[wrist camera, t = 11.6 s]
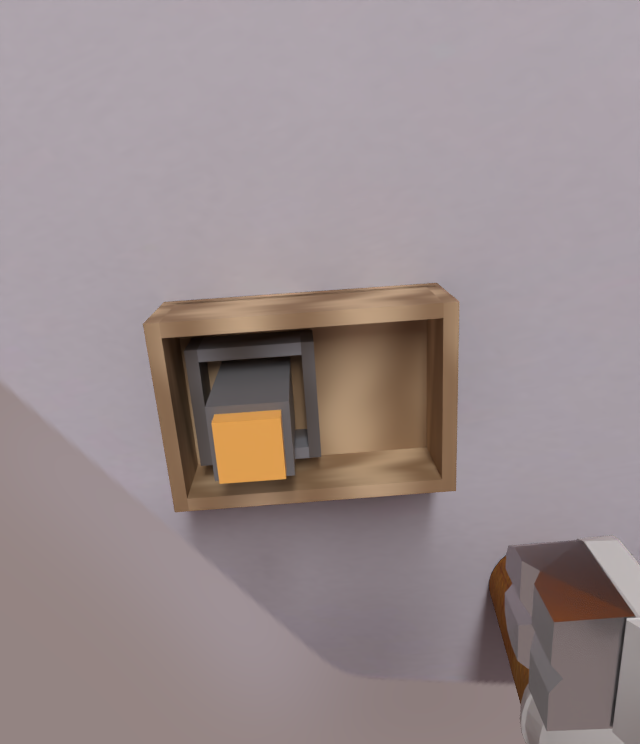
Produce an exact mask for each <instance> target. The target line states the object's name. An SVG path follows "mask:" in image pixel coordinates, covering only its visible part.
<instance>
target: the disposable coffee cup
mask: <svg viewBox="0 0 640 744" xmlns="http://www.w3.org/2000/svg"><path fill="white" fill-rule="evenodd" d="M511 585H512V582H511V579H510V577H509V575H508V573H507V571H506V556H505V557H504V558H503V559H501V560H500V562H499V563H498V564H497V566H496V567H495V568H494V570H493V572H492V574H491V577H490V582H489V590H490V595H491V598H492V601H493V605H494V608H495V612H496V616H497V619H498V623H499V627H500V630H501V634H502V638H503V641H504V645H505V649H506V653H507V656H508V659H509V663H510V667H511V671H512V675H513V678H514V681H515V685H516V689H517V693H518V696H519V700H520V703H521V716H520V722H521V731H522V735H523V738H524V740H525V743H526V744H625V743H624V742H623V741H622V740H621V739H619V738H618V737H617V736H616V735H615V734H614V733H613V732H612V730H613V729H591V730H567V731H546V729H545V726H544V724H543V721H542V719H541V717H540V714H539V712H538V709H537V707H536V705H535V702H534V700H533V697H532V695H531V693H530V690H529V688H528V687H529V669H528V668H526V667H525V666H524V665H522V664H521V663H520V662H518V661H517V658H516V656H515V653H514V651H513V648H512V645H511V642H510V638H509V635H508V631H507V624H506V617H505V592H506V591H507V590H508V589H509V587H510V586H511Z"/></svg>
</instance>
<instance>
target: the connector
mask: <svg viewBox="0 0 640 744" xmlns="http://www.w3.org/2000/svg"><path fill="white" fill-rule="evenodd" d="M205 413H206V420H207V427H208V435H209V442H210V449H211V456H212V464H213V471H214V478H215V481H219V484H225V483H239V482H252V481H266V480H280V479H286V476H293V475H295V411H294V399H293V386H292V374H291V362H290V356H284V357H270V358H255V359H241V360H226V361H222V362H221V365H220V368H219V371H218V373H217V376H216V379H215V381H214V384H213V387H212V389H211V392H210V395H209V397H208V400H207V403H206V405H205Z"/></svg>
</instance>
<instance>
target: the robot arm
mask: <svg viewBox="0 0 640 744" xmlns="http://www.w3.org/2000/svg"><path fill="white" fill-rule="evenodd" d="M506 571H507V573H508V575H509V577H510V579H511V582H512V585H511V586H510V587H509V589H508V590H507V591H506V592H505V617H506V624H507V631H508V635H509V638H510V642H511V645H512V648H513V651H514V653H515V656H516V658H517V661H518V662H520V663H521V664H522V665H524V666H525V667H526V668H528V669H529V687H528V688H529V690H530V693H531V695H532V697H533V700H534V702H535V705H536V707H537V709H538V712H539V714H540V717H541V719H542V721H543V724H544V726H545V729H546V731H567V730H591V729H613V730H612V732H613V733H614V734H615V735H616V736H617V737H618V738H619V739H621V740H622V741H623V742H624V743H625V744H640V565H639V563H638V562H637V561H636V560H635V559H634V557H633V556H632V555H631V554H630V552H629V551H628V550H627V549H626V548H625V546H624V545H623V544H622V543H621V541H620V540H619V539H618V538H616V537H614V536H612V535H609V536H599V537H590V538H580V539H577V540H571V541H558V542H546V543H534V544H522V545H510V546H508V550H507V553H506Z"/></svg>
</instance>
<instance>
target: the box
mask: <svg viewBox="0 0 640 744" xmlns="http://www.w3.org/2000/svg"><path fill="white" fill-rule="evenodd" d="M143 327H144V333H145V339H146V345H147V351H148V357H149V362H150V368H151V374H152V380H153V386H154V392H155V398H156V404H157V410H158V415H159V421H160V427H161V433H162V439H163V445H164V451H165V457H166V462H167V468H168V474H169V480H170V486H171V492H172V498H173V504H174V510H175V512H184V511H197V510H210V509H223V508H236V507H250V506H263V505H276V504H289V503H302V502H315V501H328V500H341V499H355V498H368V497H381V496H394V495H407V494H420V493H433V492H446V491H456V457H457V402H458V347H459V301H458V300H457V299H455V298H454V297H453V296H452V295H451V294H449V293H448V292H447V291H446V290H445V289H443V288H442V287H441V286H440V285H439V284H437V283H429V284H415V285H400V286H386V287H372V288H358V289H343V290H329V291H315V292H301V293H286V294H272V295H258V296H244V297H229V298H215V299H201V300H187V301H172V302H164V303H163V304H162V305H161V306H160V307H159V308H158V309H157V310H156V311H155V312H154V313H153V314H152V315H151V316H150V317H149V318H148V319H147V320H146V321H145V323H144V324H143ZM284 356H290V362H291V374H292V386H293V399H294V411H295V475H293V476H286V479H280V480H266V481H252V482H239V483H225V484H219V481H215V478H214V471H213V464H212V456H211V449H210V442H209V435H208V427H207V420H206V413H205V405H206V403H207V400H208V397H209V395H210V392H211V389H212V387H213V384H214V381H215V379H216V376H217V373H218V371H219V368H220V365H221V362H222V361H226V360H241V359H255V358H270V357H284Z"/></svg>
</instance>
